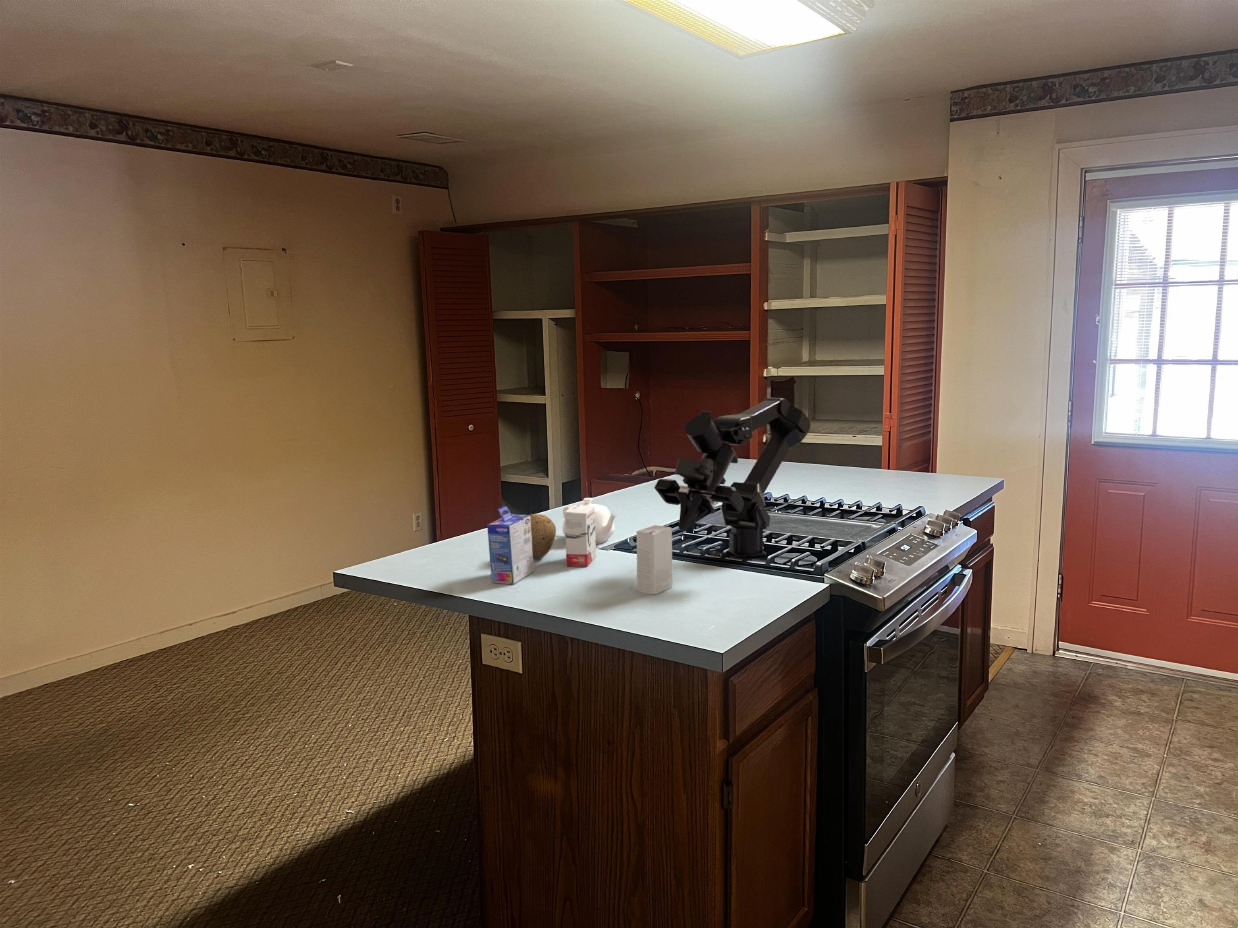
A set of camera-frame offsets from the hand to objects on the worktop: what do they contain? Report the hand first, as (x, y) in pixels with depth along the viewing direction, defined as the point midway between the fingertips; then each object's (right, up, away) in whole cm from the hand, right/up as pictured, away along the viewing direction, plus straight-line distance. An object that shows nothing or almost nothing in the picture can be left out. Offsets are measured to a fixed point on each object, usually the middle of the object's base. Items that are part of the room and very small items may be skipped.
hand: (681, 529), depth 173 cm
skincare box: (-5, -11, -5) cm, 14 cm away
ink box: (-20, -8, +17) cm, 28 cm away
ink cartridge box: (-34, -10, +6) cm, 36 cm away
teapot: (-19, -5, +35) cm, 41 cm away
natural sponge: (-31, -8, +20) cm, 38 cm away
